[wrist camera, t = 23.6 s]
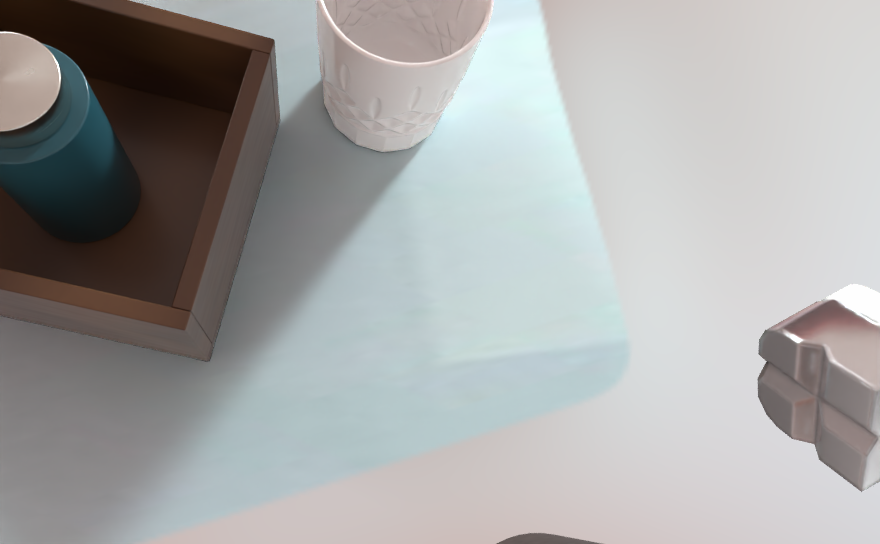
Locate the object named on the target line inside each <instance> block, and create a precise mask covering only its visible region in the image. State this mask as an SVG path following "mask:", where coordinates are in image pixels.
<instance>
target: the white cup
mask: <svg viewBox="0 0 880 544" xmlns="http://www.w3.org/2000/svg"><path fill="white" fill-rule="evenodd" d="M493 4H494V0H316V19H317V40H318V51H319V61H320V72H321V76H322V81H323V92H324V104H325V107H326V109H327V111H328V113H329V115H330V117H331V120H332V122H333V124H334V126H335V127H336V128H337V129H338V130H339V131H340V132H342V133H343V134H344V135H345V136H346V137H348V138H349V139H350V140H351V141H352V142H354V143H355V144H356V145H359V146H363V147H366V148H370V149H373V150H377V151H380V152H388V151H396V150H403V149H410V148H411V147H413V146H414V145H416V144H417V143H419V142H420V141H422V140H424V139H425V138H427V137H428V136H430V135H431V134H432V132H433V130H434V128H435V126H436V125H437V123H438V121H439V119H440V118H441V116H442V114H443V112H444V110H445V108H447V107H448V105H449V104H450V102H451V100H452V98H453V96H454V94H455V93H456V91H457V89H458V87H459V84H460V82H461V81H462V79H463V77H464V75H465V73H466V71H467V69H468V67H469V65H470V62H471V60H472V58H473V56H474V54H475V52H476V50H477V47H478V45H479V43H480V41H481V39H482V37H483V35H484V33H485V31H486V29H487V27H488V24H489V22H490V19H491V16H492V11H493Z"/></svg>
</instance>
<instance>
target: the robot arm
mask: <svg viewBox="0 0 880 544" xmlns="http://www.w3.org/2000/svg"><path fill="white" fill-rule="evenodd" d="M759 355H760V356H761V357H762V358H763V359H765V360H766V361H767V362H766V364H765V366H764V367H763V369H762V371H761V373H760V375H759V377H758V397H759V399H760V402H761V404H762V406H763V408H764V410H765V412H766V414H767V415H768V417H769V418H770V419H771V420H772V421H773V422H774V424H775V425H776V426H777V427H778V428H779V429H780V430H782V431H783V432H784V433H785V434H787V435H788V436H789V437H791V438H792V439H796V440H799V441H804V442H808V443H812V444H815V447H816V451H817V454H818V457H819V460H820V461H822V462H823V463H824V464H826V465H827V466H829V467H830V468H831V469H832V470H834V471H835V472H836V473H838V474H839V475H840V476H842V477H843V478H844V479H845V480H847V481H848V482H850V483H851V484H852V485H853V486H855V487H856V488H857V489H859V490H860V491H861V492H862V491H864V490H866V489H868V488H869V487H871V486H872V485H874V484H876V483H878V482H879V481H880V293H878V292H876V291H874V290H872V289H870V288H868V287H866V286H863V285H856V284H851V285H849V286H847V287H845V288H843V289H841V290H839V291H838V292H836V293H834V294H832V295H830V296H828V297H827V298H825V299H823V300H821V301H819V302H815V303H814V304H812V305H810V306H808V307H807V308H805V309H803V310H801V311H799V312H798V313H796V314H794V315H792V316H790V317H789V318H787V319H785V320H783V321H781V322H780V323H778V324H776V325H774V326H772V327H771V328H769V329H767V330H765V332H764V333H763V335H762V336H761V338H760V339H759Z"/></svg>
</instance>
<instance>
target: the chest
mask: <svg viewBox="0 0 880 544" xmlns="http://www.w3.org/2000/svg"><path fill="white" fill-rule="evenodd" d="M0 32H14V33H19V34H23V35H26V36H29V37H31V38H33V39H35V40H37V41H39V42H40V43H42V44H45V45H48V46H51V47H53V48H55V49H57V50H59V51H61V52H62V53H64V54H66V55H67V56H68V57H69V58H71V59H72V60H73V61H74V62H75V63H76V64H77V65H78V67H79V68H80V70H81V71H82V72H83V74H84V76H85V78H86V80H87V82H88V83H89V85H90V87H91V89H92V91H93V93H94V95H95V96H96V98H97V100H98V102H99V104H100V106H101V108H102V109H103V111H104V113H105V115H106V117H107V119H108V120H109V122H110V124H111V126H112V128H113V130H114V132H115V133H116V135H117V137H118V139H119V141H120V143H121V145H122V146H123V148H124V150H125V152H126V154H127V156H128V158H129V159H130V161H131V163H132V165H133V167H134V169H135V171H136V173H137V175H138V178H139V181H140V187H141V194H140V201H139V204H138V207H137V209H136V212H135V213H134V215H133V217H132V218H131V219H130V221H129V222H128V223H127V224H126V225H125V226H124V227H123V228H122V229H120V230H119V231H118V232H116V233H114V234H113V235H111V236H109V237H107V238H104V239H101V240H98V241H93V242H85V243H78V242H70V241H65V240H62V239H59V238H57V237H55V236H53V235H51V234H49V233H48V232H47V231H45V230H44V229H43V228H42V227H41V226H40V225H39V224H38V223H37V222H36V221H35V220H34V219H33V218H32V217H31V216H30V215H29V214H28V213H27V212H26V211H24V210H23V209H22V208H21V207H20V206H19V205H18V204H17V203H16V202H15V201H14V200H13V199H12V198H11V197H10V196H9V195H8V194H7V193H6V192H5V191H4V190H3V189H2V188H1V187H0V316H4V317H8V318H13V319H18V320H22V321H27V322H31V323H36V324H40V325H45V326H49V327H54V328H58V329H63V330H67V331H72V332H76V333H81V334H85V335H90V336H94V337H99V338H103V339H108V340H112V341H117V342H121V343H126V344H131V345H135V346H140V347H144V348H149V349H153V350H158V351H162V352H167V353H171V354H176V355H180V356H185V357H189V358H194V359H198V360H203V361H207V362H208V361H210V358H211V354H212V351H213V348H214V344H215V341H216V337H217V334H218V331H219V327H220V324H221V320H222V317H223V314H224V310H225V307H226V303H227V300H228V297H229V293H230V290H231V286H232V283H233V280H234V276H235V273H236V269H237V266H238V262H239V259H240V256H241V252H242V249H243V245H244V242H245V239H246V235H247V232H248V228H249V225H250V222H251V218H252V215H253V211H254V208H255V205H256V201H257V198H258V194H259V191H260V188H261V184H262V181H263V177H264V174H265V170H266V167H267V164H268V160H269V157H270V153H271V150H272V147H273V143H274V140H275V136H276V133H277V130H278V126H279V123H280V110H279V97H278V83H277V69H276V55H275V42H274V39H271V38H267V37H263V36H260V35H256V34H252V33H249V32H245V31H241V30H237V29H234V28H230V27H226V26H222V25H219V24H215V23H211V22H207V21H204V20H200V19H196V18H192V17H189V16H185V15H181V14H177V13H174V12H170V11H166V10H163V9H159V8H155V7H151V6H148V5H144V4H140V3H136V2H133V1H129V0H0Z"/></svg>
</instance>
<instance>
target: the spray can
mask: <svg viewBox="0 0 880 544" xmlns="http://www.w3.org/2000/svg"><path fill="white" fill-rule="evenodd" d="M0 187H1V188H2V189H3V190H4V191H5V192H6V193H7V194H8V195H9V196H10V197H11V198H12V199H13V200H14V201H15V202H16V203H17V204H18V205H19V206H20V207H21V208H22V209H23V210H24V211H26V212H27V213H28V214H29V215H30V216H31V217H32V218H33V219H34V220H35V221H36V222H37V223H38V224H39V225H40V226H41V227H42V228H43V229H44V230H45V231H47V232H48V233H49V234H51V235H53V236H55V237H57V238H59V239H62V240H65V241H70V242H78V243H85V242H93V241H98V240H101V239H104V238H107V237H109V236H111V235H113V234H114V233H116V232H118V231H119V230H120V229H122V228H123V227H124V226H125V225H126V224H127V223H128V222H129V221H130V219H131V218H132V217H133V215H134V213H135V212H136V209H137V207H138V204H139V201H140V194H141V187H140V181H139V178H138V175H137V173H136V171H135V169H134V167H133V165H132V163H131V161H130V159H129V158H128V156H127V154H126V152H125V150H124V148H123V146H122V145H121V143H120V141H119V139H118V137H117V135H116V133H115V132H114V130H113V128H112V126H111V124H110V122H109V120H108V119H107V117H106V115H105V113H104V111H103V109H102V108H101V106H100V104H99V102H98V100H97V98H96V96H95V95H94V93H93V91H92V89H91V87H90V85H89V83H88V82H87V80H86V78H85V76H84V74H83V72H82V71H81V70H80V68H79V67H78V65H77V64H76V63H75V62H74V61H73V60H72V59H71V58H69V57H68V56H67V55H66V54H64V53H62V52H61V51H59V50H57V49H55V48H53V47H51V46H48V45H45V44H42V43H40V42H39V41H37V40H35V39H33V38H31V37H29V36H26V35H23V34H19V33H14V32H0Z"/></svg>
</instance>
